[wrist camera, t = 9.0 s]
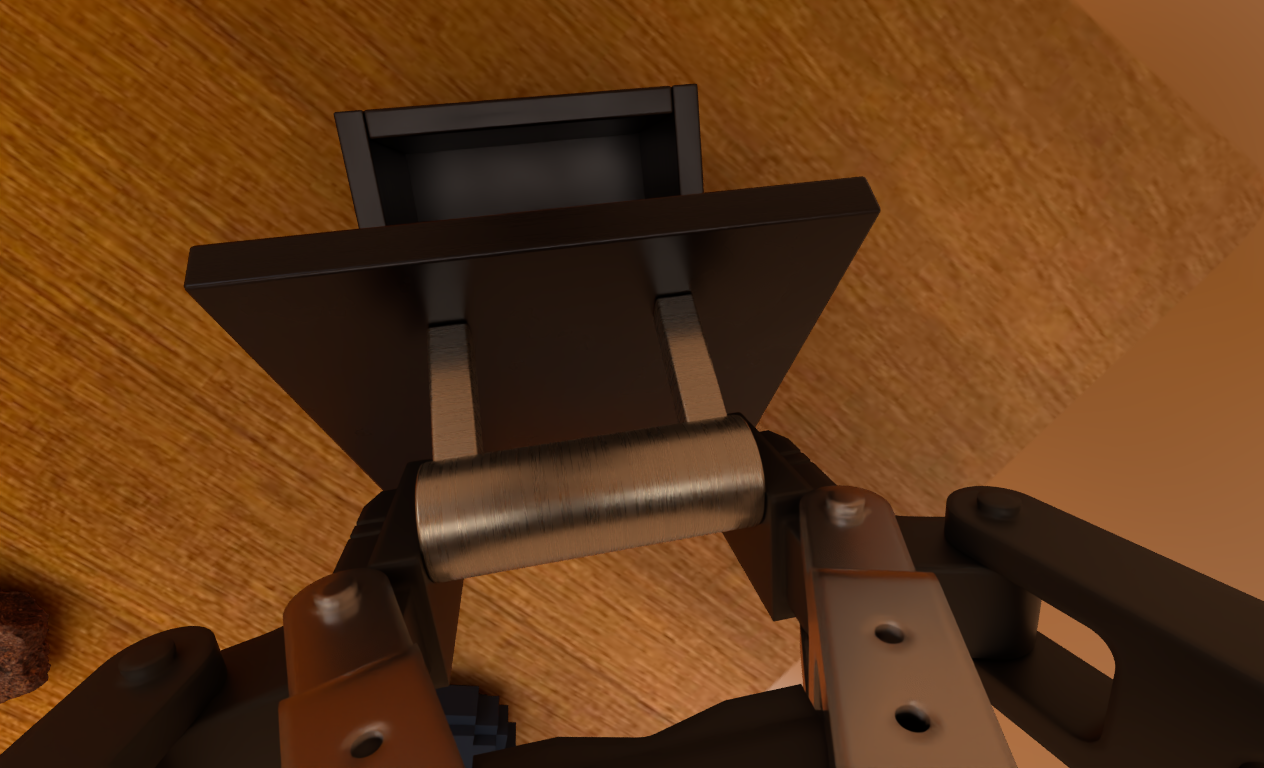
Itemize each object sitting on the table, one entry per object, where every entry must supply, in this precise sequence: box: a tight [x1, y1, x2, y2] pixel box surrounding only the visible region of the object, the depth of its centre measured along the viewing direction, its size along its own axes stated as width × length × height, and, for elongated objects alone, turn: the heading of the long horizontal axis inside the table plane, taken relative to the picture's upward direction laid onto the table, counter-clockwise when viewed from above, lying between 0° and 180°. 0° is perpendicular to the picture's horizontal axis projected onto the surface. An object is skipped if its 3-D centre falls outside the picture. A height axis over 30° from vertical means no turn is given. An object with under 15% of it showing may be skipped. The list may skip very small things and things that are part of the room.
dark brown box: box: [334, 84, 704, 229], centre depth 23 cm, size 13×11×7 cm
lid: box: [184, 177, 880, 583], centre depth 15 cm, size 13×11×5 cm
